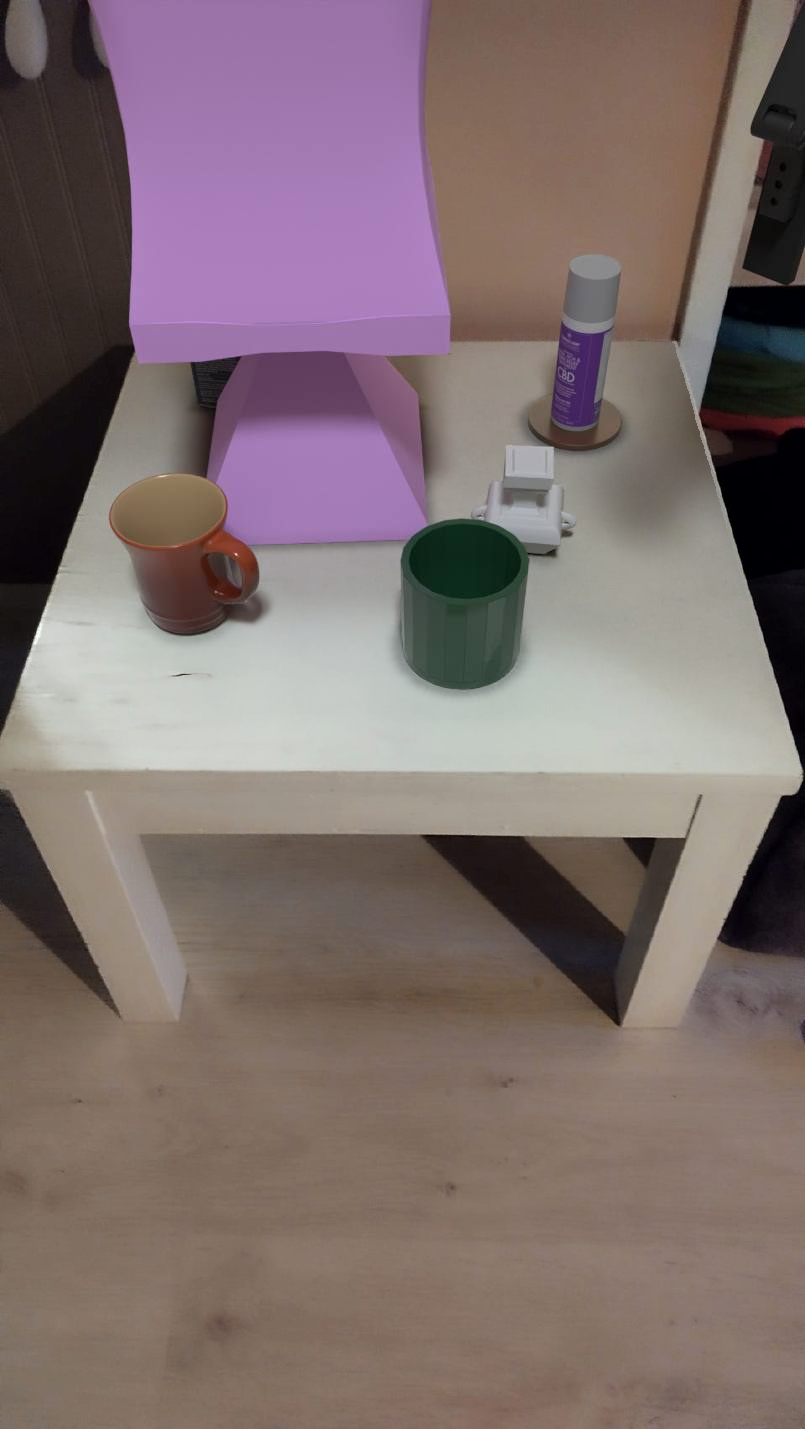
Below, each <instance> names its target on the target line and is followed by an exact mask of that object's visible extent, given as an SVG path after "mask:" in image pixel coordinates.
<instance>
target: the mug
mask: <svg viewBox="0 0 805 1429" xmlns="http://www.w3.org/2000/svg"><path fill="white" fill-rule="evenodd" d="M227 513H228V502H227V498H226V496H225V494H224V492H223V490H222V489H221V488H220V487H219V486H218V485H217V484H215V483H214V482H212V481H210V480H209V479H207V477H204V476H201V475H198V474H192V473H185V472H171V473H169V472H168V473H162V474H161V473H160V474H156V475H152V476H149V477H146V478H144V479H141V480H139V481H137V482H135V483H132V484H131V485H130V486H128V487H127V488H125V489H124V490H123V491H122V492H121V493H119V494H118V496H117V497H116V498H115V499H114V501H113V502H112V503H111V507H110V509H109V513H108V521H109V525H110V528H111V530H112V532H113V533H114V535H115V536H116V538H117V539H118V540H119V541H120V543H121V545H122V546H123V547H124V548H125V550H126V551H127V553H128V555H129V557H130V560H131V563H132V568H133V573H134V577H135V581H136V585H137V589H138V591H139V598H140V601H141V602H142V604H143V606H144V607H145V609H146V612H147V613H148V615H149V617H150V618H151V620H152V621H153V622H154V624H156V625H157V626H158V627H159V628H161V629H163V630H166V631H167V632H171V633H175V634H195V633H200V632H203V631H208V630H209V629H212V628H213V627H216V626H218V624H220V623H221V622H222V621H224V619H226V617H227V616H228V615H229V614H230V613H231V612H232V609H233V607H234V605H237V604H238V605H239V604H244V603H245V602H247V601H249V600H250V599H251V598H252V597H253V596H254V595H255V593H256V592H257V589H258V587H259V585H260V566H259V562H258V559H257V556H256V555H255V552H254V551H253V550H252V548H250V546H249V545H246V544H245V543H243V542H242V541H240V540H238V539H236V538H235V537H233V536H232V535H231V534H230V533H228V532H226V531H225V530H224V529H225V523H226V519H227ZM230 559H232V560H233V561H234V562H235V563H236V564H237V567H238V568H239V571H240V578H241V586H239V585H237V584H235V578H234V575H233V572H232V567H231V561H230Z"/></svg>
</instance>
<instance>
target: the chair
mask: <svg viewBox="0 0 805 1429" xmlns="http://www.w3.org/2000/svg"><path fill="white" fill-rule="evenodd" d="M87 3H88V5H89V9H90V11H91V14H92V16H93V20H94V23H95V26H96V29H97V33H98V36H99V39H100V42H101V46H102V49H103V53H104V56H105V59H106V62H107V67H108V70H109V72H110V76H111V80H112V83H113V84H112V86H113V88H114V89H113V90H114V94H115V97H116V103H117V106H118V111H119V115H120V120H121V123H122V128H123V133H124V134H123V135H124V141H125V149H126V156H127V166H128V173H129V182H130V204H131V207H130V208H131V209H130V210H131V231H132V232H131V272H130V273H131V274H130V292H129V312H128V314H129V315H128V317H129V318H128V326H129V329H130V330H129V331H130V334H131V338H132V343H133V346H134V351H135V354H136V359H137V363H138V365H140V364H168V363H169V364H171V363H172V364H173V363H190V362H202V361H209V360H216V359H223V358H230V357H237V356H242V357H241V358H240V360H239V362H238V364H237V366H236V367H235V369H234V371H233V373H232V375H231V377H230V378H229V380H228V382H227V384H226V386H225V388H224V389H223V391H222V393H221V395H220V397H219V398H218V401H217V408H215V416H214V422H213V429H212V437H211V444H210V450H209V458H208V465H207V473H206V479H209V480H210V481H212V482H214V483H215V484H217V485H218V486H219V487H220V488H221V489H222V490H223V492H224V494H225V496H226V498H227V502H228V513H227V519H226V523H225V529H224V530H225V531H226V532H228V533H230V534H231V535H232V536H233V537H235V538H236V539H238V540H240V541H242V542H243V543H245V544H246V545H247V546H266V545H267V546H268V545H296V544H327V543H353V542H354V543H357V542H384V541H387V542H388V541H409V540H410V538H411V537H412V536H413V535H414V534H416V533H417V532H419V531H420V530H422V529H423V528H425V527H427V526H429V523H428V510H427V509H428V508H427V497H426V483H425V472H424V458H423V444H422V433H421V419H420V405H419V393H418V392H417V391H416V390H415V388H413V387H412V385H410V383H409V382H408V381H407V380H406V379H405V377H404V376H403V375H402V374H401V373H400V372H399V371H398V369H397V368H396V367H395V366H394V365H393V364H392V362H391V361H390V360H388V358H387V357H397V356H401V357H402V356H430V355H431V356H433V355H450V353H451V352H450V351H451V349H450V348H451V307H450V306H451V305H450V299H449V291H448V282H447V278H446V268H445V263H444V256H443V248H442V240H441V231H440V224H439V215H438V204H437V196H436V195H437V194H436V187H435V181H434V180H435V178H434V172H433V168H432V162H431V158H430V152H429V147H428V142H427V136H426V117H425V106H426V83H427V82H426V81H427V80H426V79H427V61H428V60H427V59H428V49H429V41H430V31H431V21H432V10H433V3H434V0H87Z"/></svg>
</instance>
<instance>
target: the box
mask: <svg viewBox="0 0 805 1429" xmlns="http://www.w3.org/2000/svg"><path fill="white" fill-rule="evenodd" d="M241 357H242V356H237V357H230V358H223V359H216V360H209V361H202V362H189V363H190V368H191V372H192V373H191V374H192V380H193V384H194V389H195V395H196V399H197V405H198V406H199V407H200V406H201V407H206V408H215V409H216V408H217V401H218V398H219V397H220V395H221V393H222V391H223V389H224V388H225V386H226V384H227V382H228V380H229V378H230V377H231V375H232V373H233V371H234V369H235V367H236V366H237V364H238V362H239V360H240V358H241Z"/></svg>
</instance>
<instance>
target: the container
mask: <svg viewBox="0 0 805 1429" xmlns="http://www.w3.org/2000/svg"><path fill="white" fill-rule="evenodd" d="M621 275H622V265H621V263H620V262H619V261H618V260H617V259H615V258H614V257H611V256H608V255H605V254H598V253H588V254H582V255H579V256H576V257H575V258H573V259H572V260H571V261H570V262H569V265H568V272H567V279H566V286H565V294H564V300H563V307H562V314H561V321H560V329H559V339H558V347H557V356H556V363H555V364H556V365H555V374H554V380H553V390H552V394H553V399H552V407H551V420H552V421H553V423H554V424H555V425H557V426H558V427H560V428H562V429H565V430H568V431H585V430H588V429H591V428H593V427H594V426H595V425H596V424H597V423H598V421H599V416H600V410H601V403H602V398H604V397H603V396H604V391H605V390H604V389H605V385H606V384H605V383H606V378H607V373H608V372H607V371H608V365H609V359H610V352H611V346H612V341H613V336H614V335H613V334H614V328H615V321H616V312H617V305H618V298H619V291H620V284H621V283H620V282H621Z"/></svg>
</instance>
